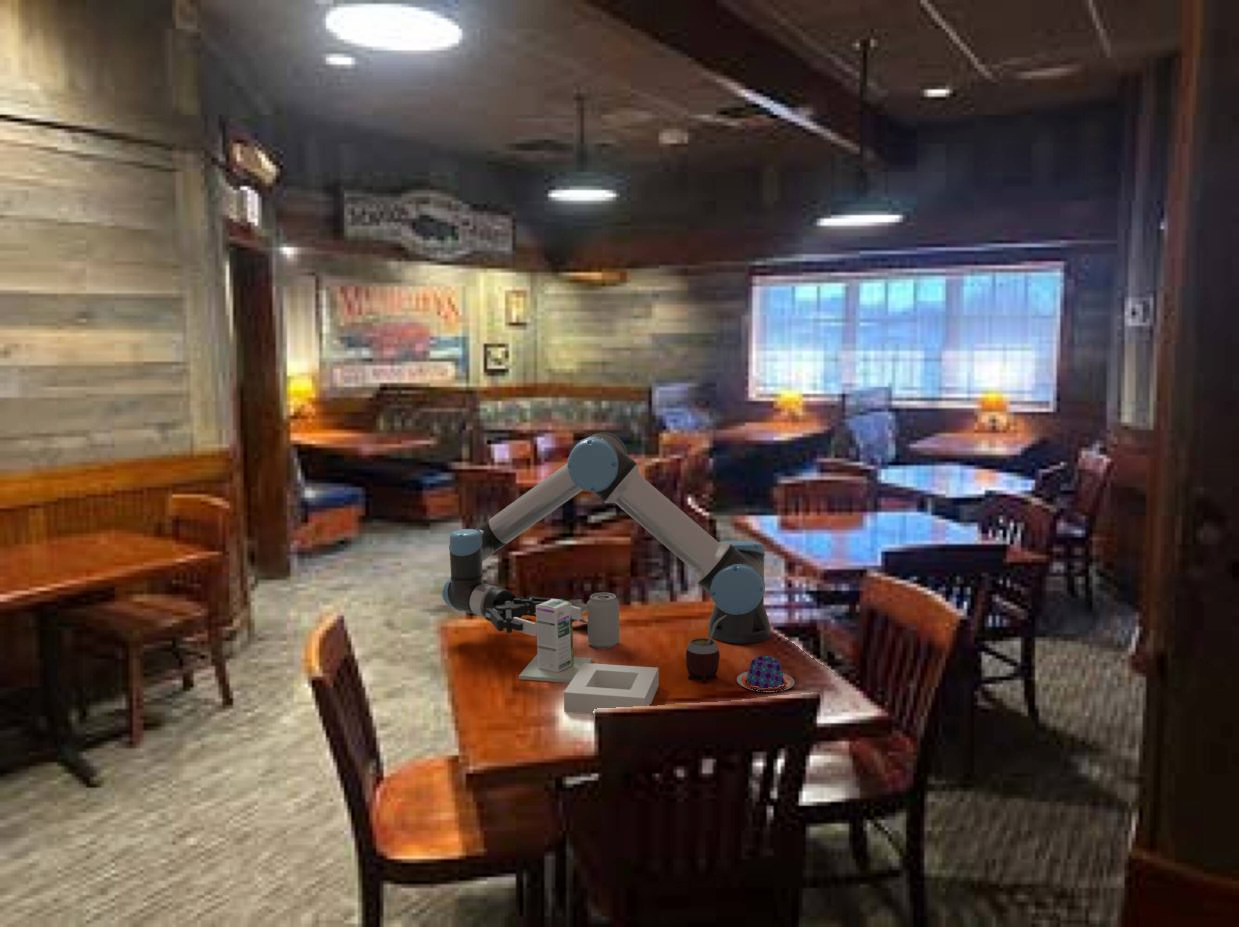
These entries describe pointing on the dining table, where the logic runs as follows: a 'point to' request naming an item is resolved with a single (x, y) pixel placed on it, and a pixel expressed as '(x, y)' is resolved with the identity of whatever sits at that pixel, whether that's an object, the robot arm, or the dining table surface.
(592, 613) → the can
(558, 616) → the syrup box
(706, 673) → the mate gourd
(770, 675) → the pudding
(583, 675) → the bore block
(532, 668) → the sage tile
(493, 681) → the dining table surface
